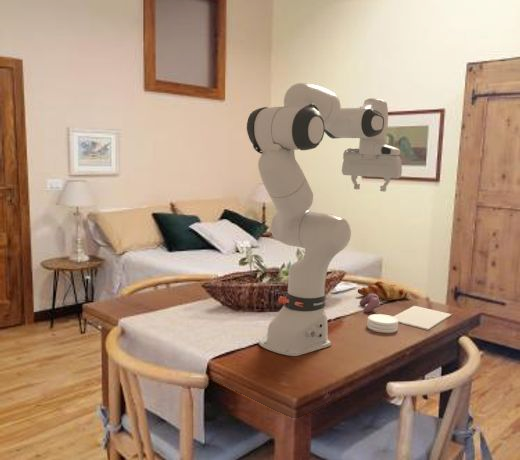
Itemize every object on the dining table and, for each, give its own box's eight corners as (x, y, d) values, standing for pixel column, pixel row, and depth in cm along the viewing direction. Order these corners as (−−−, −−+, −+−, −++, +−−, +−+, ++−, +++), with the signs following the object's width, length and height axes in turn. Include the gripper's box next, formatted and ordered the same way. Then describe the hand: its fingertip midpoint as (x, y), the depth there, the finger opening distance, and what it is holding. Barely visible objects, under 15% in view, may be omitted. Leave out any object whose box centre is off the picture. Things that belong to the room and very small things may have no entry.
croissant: (406, 304, 210) (405, 285, 212) (414, 300, 200) (413, 280, 203) (355, 302, 209) (355, 282, 212) (361, 297, 199) (360, 277, 202)
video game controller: (373, 317, 185) (383, 301, 184) (362, 311, 185) (372, 295, 184) (368, 309, 195) (377, 293, 194) (358, 303, 195) (367, 287, 194)
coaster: (398, 325, 173) (399, 315, 172) (397, 335, 164) (397, 324, 163) (368, 321, 176) (369, 312, 175) (365, 331, 167) (366, 320, 166)
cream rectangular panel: (428, 330, 169) (428, 328, 169) (388, 320, 178) (388, 318, 178) (451, 315, 186) (451, 314, 186) (414, 307, 195) (414, 305, 195)
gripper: (340, 148, 175) (337, 188, 177) (398, 149, 164) (395, 193, 166) (347, 148, 180) (345, 187, 182) (405, 150, 169) (401, 192, 171)
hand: (369, 190), depth 174 cm, fingers open, 8 cm apart
